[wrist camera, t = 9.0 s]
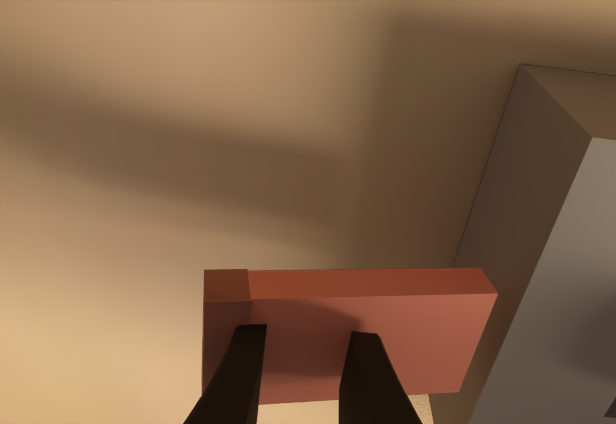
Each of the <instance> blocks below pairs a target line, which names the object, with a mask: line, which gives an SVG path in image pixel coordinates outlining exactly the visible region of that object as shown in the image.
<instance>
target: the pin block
mask: <svg viewBox="0 0 616 424" xmlns="http://www.w3.org/2000/svg"><path fill="white" fill-rule="evenodd" d="M452 268H481V269H482V270H483V272H484V273H485V275H486V276H487V278H488V279H489V281H490V282H491V284H492V285H493V287H494V288H495V290H496V291H497V292H498V295H497V298H496V300H495V303H494V305H493V308H492V310H491V313H490V315H489V318H488V320H487V323H486V325H485V328H484V330H483V333H482V335H481V338H480V340H479V343H478V345H477V348H476V350H475V353H474V355H473V358H472V360H471V363H470V365H469V368H468V370H467V373H466V375H465V378H464V380H463V383H462V385H461V388H460V390H459V392H451V393H435V394H428V396H429V401H430V406H431V411H432V417H433V422H434V424H616V76H610V75H602V74H595V73H587V72H580V71H572V70H564V69H557V68H549V67H542V66H534V65H526V64H520V65H519V68H518V71H517V74H516V77H515V80H514V83H513V86H512V89H511V92H510V95H509V98H508V101H507V104H506V107H505V110H504V113H503V116H502V119H501V122H500V125H499V128H498V131H497V134H496V137H495V140H494V144H493V147H492V150H491V153H490V156H489V159H488V162H487V165H486V168H485V171H484V174H483V177H482V180H481V183H480V186H479V189H478V192H477V195H476V198H475V201H474V204H473V207H472V210H471V213H470V216H469V219H468V222H467V225H466V228H465V231H464V234H463V237H462V240H461V243H460V246H459V249H458V252H457V255H456V258H455V261H454V264H453V267H452Z"/></svg>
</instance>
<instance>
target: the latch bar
mask: <svg viewBox="0 0 616 424" xmlns="http://www.w3.org/2000/svg"><path fill="white" fill-rule="evenodd" d="M497 295H498V292H497V291H496V290H495V288H494V287H493V285H492V284H491V282H490V281H489V279H488V278H487V276H486V275H485V273H484V272H483V270H482V269H481V268H413V269H335V270H256V271H247V269H228V270H204V298H203V340H202V394H203V393H204V391H205V389H206V388H207V386H208V384H209V382H210V381H211V379H212V377H213V375H214V373H215V372H216V370H217V368H218V366H219V364H220V362H221V360H222V358H223V356H224V354H225V352H226V350H227V348H228V346H229V344H230V341H231V339H232V336H233V334H234V331H235V328H237V327H238V326H240V325H249V324H267V331H266V340H265V349H264V359H263V368H262V377H261V386H260V395H259V405H262V404H278V403H293V402H309V401H325V400H339V386H340V381H341V377H342V373H343V368H344V364H345V359H346V355H347V350H348V346H349V341H350V337H351V332H352V331H357V332H367V333H377V334H378V335H379V336H380V337H381V340H382V343H383V345H384V348H385V350H386V352H387V355H388V357H389V359H390V362H391V364H392V366H393V368H394V370H395V372H396V374H397V377H398V379H399V381H400V383H401V385H402V387H403V389H404V391H405V393H406V394H407V395H419V394H435V393H451V392H459V390H460V388H461V385H462V383H463V380H464V378H465V375H466V373H467V370H468V368H469V365H470V363H471V360H472V358H473V355H474V353H475V350H476V348H477V345H478V343H479V340H480V338H481V335H482V333H483V330H484V328H485V325H486V323H487V320H488V318H489V315H490V313H491V310H492V308H493V305H494V303H495V300H496V298H497Z"/></svg>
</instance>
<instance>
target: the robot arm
mask: <svg viewBox="0 0 616 424" xmlns="http://www.w3.org/2000/svg"><path fill="white" fill-rule="evenodd" d="M266 331H267V324H249V325H240V326H238V327H237V328H235V331H234V334H233V336H232V339H231V341H230V344H229V346H228V348H227V350H226V352H225V354H224V356H223V358H222V360H221V362H220V364H219V366H218V368H217V370H216V372H215V373H214V375H213V377H212V379H211V381H210V382H209V384H208V386H207V388H206V389H205V391H204V393H203V394H202V396H201V397H200V399H199V400H198V402H197V404H196V405H195V407H194V408H193V410H192V411H191V413H190V414H189V416H188V417H187V419H186V420H185V422H184V423H183V424H256V423H257V414H258V405H259V395H260V386H261V377H262V368H263V359H264V349H265V340H266ZM339 424H422V422H421V420H420V418H419V417H418V415H417V413H416V411H415V409H414V407H413V406H412V404H411V402H410V400H409V398H408V396H407V394H406V393H405V391H404V389H403V387H402V385H401V383H400V381H399V379H398V377H397V374H396V372H395V370H394V368H393V366H392V364H391V362H390V359H389V357H388V355H387V352H386V350H385V348H384V345H383V343H382V340H381V337H380V336H379V335H378V334H377V333H367V332H357V331H352V332H351V337H350V341H349V346H348V350H347V355H346V359H345V364H344V368H343V373H342V377H341V381H340V386H339Z"/></svg>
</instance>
